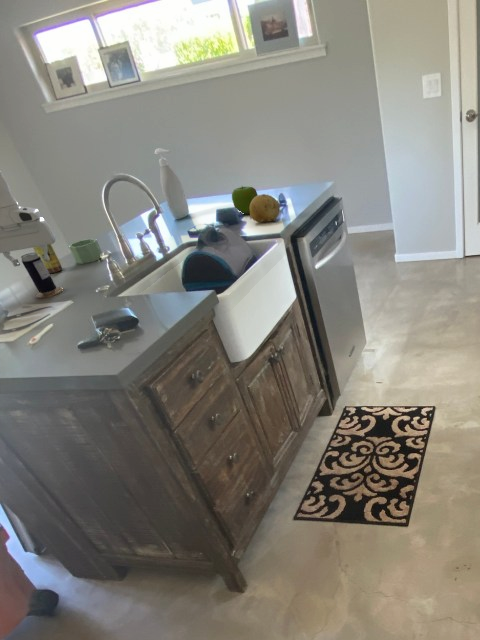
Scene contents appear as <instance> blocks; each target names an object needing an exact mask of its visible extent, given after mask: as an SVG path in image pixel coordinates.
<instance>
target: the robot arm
mask: <svg viewBox="0 0 480 640" xmlns="http://www.w3.org/2000/svg"><path fill="white" fill-rule="evenodd" d="M56 240H57V238H56V235H55V233H54V232H53V230H52V228H51V226H50V224H49V223H48V222H47V220H46V219H44V218H43V217H41V213H40V211H39V209H38V208H34V207H27V206H21V205H19V203H18V201H17V199H16V198H15V197H14V196H13V195H12V192H11V188H10V185H9V183H8V182H7V180H6V178H5V176H4V174H3V172H2V171H1V170H0V254H2V255H3V256H4V257H5V258H6V259H7V260H9V261H10V262H11V263H12V265H13V267H19V266H21V264H20V261H19V259H18V258H14V257H13V256H11V252H16V251H20V250H25V249H26V250H27V249H31V248H32V249H33V247H38V246H41V248H42V250H43V249H44V254H43V255H42V258H43V260H44V261H48V260H50V258H49V256H48V254H47V253H48V246H47V245H49V244H51V245H53V244H55V242H56Z"/></svg>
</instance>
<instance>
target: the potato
mask: <svg viewBox="0 0 480 640" xmlns="http://www.w3.org/2000/svg"><path fill="white" fill-rule="evenodd" d="M257 195H258V196H256V197H255V198H254V199H253V200H252V201H251V204H250V214H249V215H250V217H251V219H252V220H253V221H254V222H256V223H262V222H274V221H276V220H277V219H278V218H279V216H280V212H281V207H280V206H281V205H280V203H279V201H278V200H277V199H275V197H273V196H272V195H269V194H265V193H263V194H257Z"/></svg>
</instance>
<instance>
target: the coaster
mask: <svg viewBox="0 0 480 640" xmlns="http://www.w3.org/2000/svg"><path fill="white" fill-rule="evenodd" d="M64 290H65V289H64V287H62V286H61V287H60V286H56V289H55V292H53V293H50V294H45V295H44V294H42V293H40V292H39V291H38V293H36V294H35V298H36V299H47V298H51V297H55V296H57V295H59V294H61V293H63V292H64Z"/></svg>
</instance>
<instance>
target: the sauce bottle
mask: <svg viewBox="0 0 480 640" xmlns="http://www.w3.org/2000/svg"><path fill="white" fill-rule="evenodd" d="M47 246H48V253H47V254H48V256H49V258H50V260H48V261H44V260H43V258H42V255H43V254H44V249H43V250H42V248H41V246H38V247H32V249H33V252H34V253H37V255H39V256H40V258H41V259H42V261H43V263H44V265H45V267H46V269H47V271H48V273H49V274H55V273H58V272H61V271H62V270H63V267H62V263H61V261H60V259H59V258H58V255H57V253H56V251H55V250H54V248H53V244H49V245H47Z"/></svg>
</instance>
